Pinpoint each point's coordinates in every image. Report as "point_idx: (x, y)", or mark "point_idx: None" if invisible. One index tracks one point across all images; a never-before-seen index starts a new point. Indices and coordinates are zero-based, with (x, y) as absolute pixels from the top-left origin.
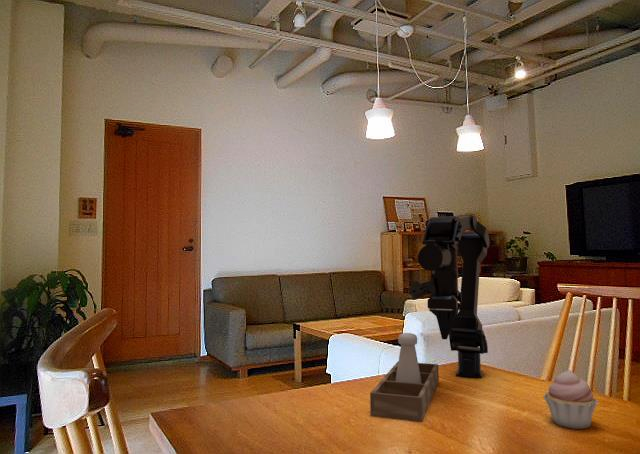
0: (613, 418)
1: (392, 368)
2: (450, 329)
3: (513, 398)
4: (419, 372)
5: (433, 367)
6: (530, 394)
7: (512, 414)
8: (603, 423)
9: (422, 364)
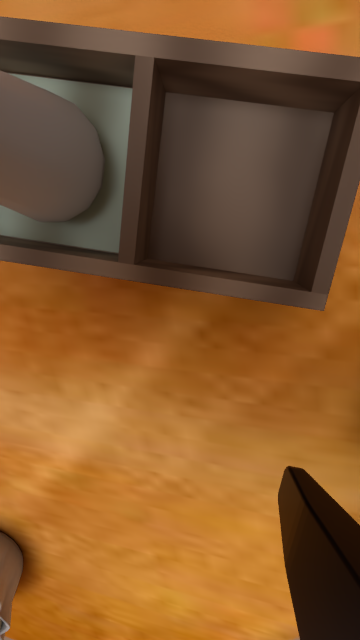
0: (51, 629)
1: (193, 44)
2: (284, 524)
3: (147, 492)
4: (28, 212)
5: (250, 284)
6: (195, 540)
7: (9, 460)
8: (14, 603)
9: (325, 227)
